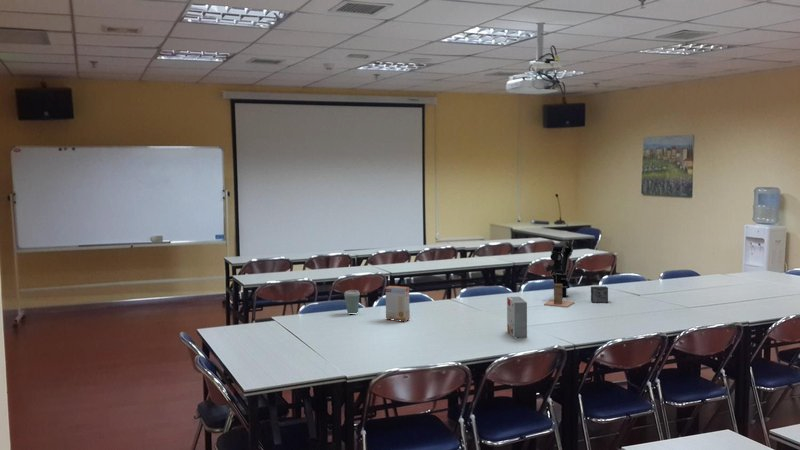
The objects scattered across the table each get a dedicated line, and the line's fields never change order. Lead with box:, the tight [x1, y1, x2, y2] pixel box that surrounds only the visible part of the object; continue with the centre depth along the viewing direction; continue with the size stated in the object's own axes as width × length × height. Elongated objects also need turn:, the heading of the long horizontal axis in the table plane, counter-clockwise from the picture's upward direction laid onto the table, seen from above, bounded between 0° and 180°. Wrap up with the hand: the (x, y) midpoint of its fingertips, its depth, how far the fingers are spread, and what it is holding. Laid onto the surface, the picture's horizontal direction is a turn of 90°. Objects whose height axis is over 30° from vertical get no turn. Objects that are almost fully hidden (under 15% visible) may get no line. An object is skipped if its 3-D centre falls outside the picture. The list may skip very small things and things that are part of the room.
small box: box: [590, 285, 609, 304], centre depth 443 cm, size 11×6×10 cm, turn 84°
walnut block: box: [553, 283, 563, 304], centre depth 436 cm, size 5×5×13 cm
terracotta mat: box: [543, 299, 575, 308], centre depth 439 cm, size 16×16×1 cm
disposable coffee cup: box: [343, 289, 361, 314], centre depth 419 cm, size 11×11×15 cm
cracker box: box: [385, 285, 411, 322], centre depth 400 cm, size 14×6×21 cm, turn 59°
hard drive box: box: [506, 296, 528, 338], centre depth 361 cm, size 16×8×20 cm, turn 5°
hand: (556, 284), depth 448 cm, fingers open, 9 cm apart
